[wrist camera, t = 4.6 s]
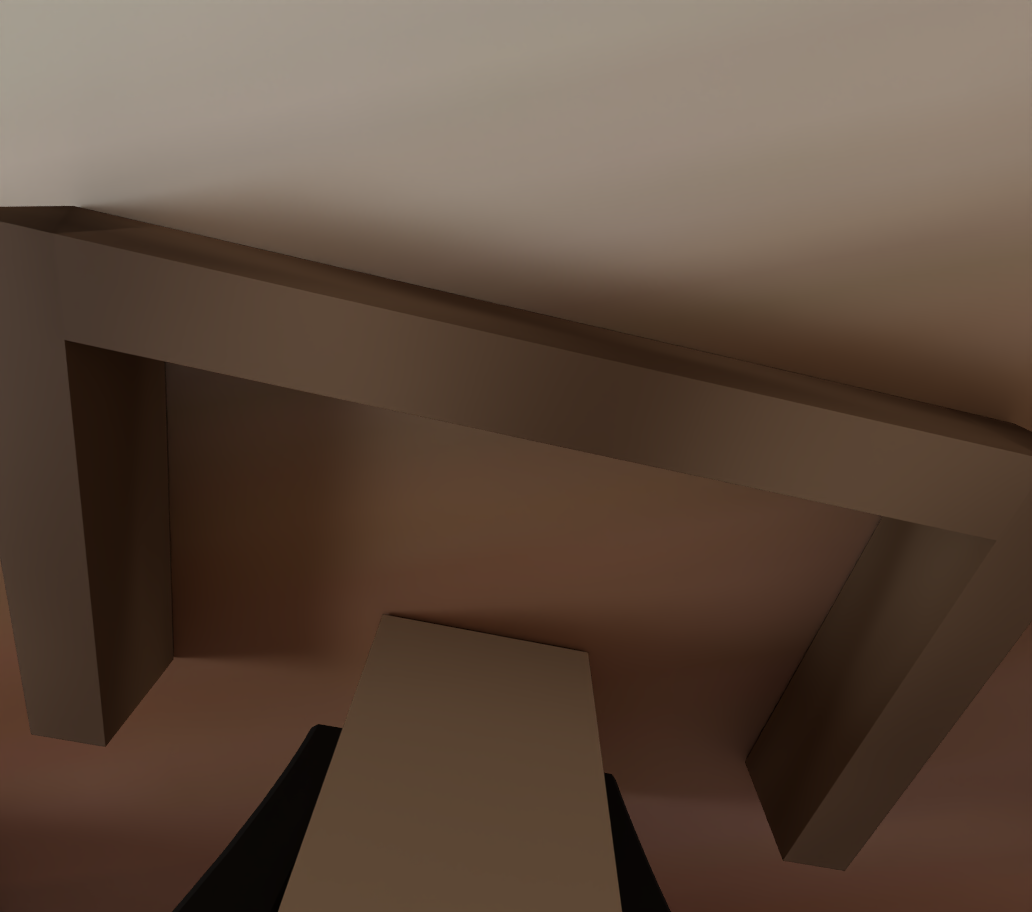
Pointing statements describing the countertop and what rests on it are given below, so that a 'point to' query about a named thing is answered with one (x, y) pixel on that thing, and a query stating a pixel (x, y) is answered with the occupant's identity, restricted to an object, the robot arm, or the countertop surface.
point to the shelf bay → (505, 410)
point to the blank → (462, 783)
